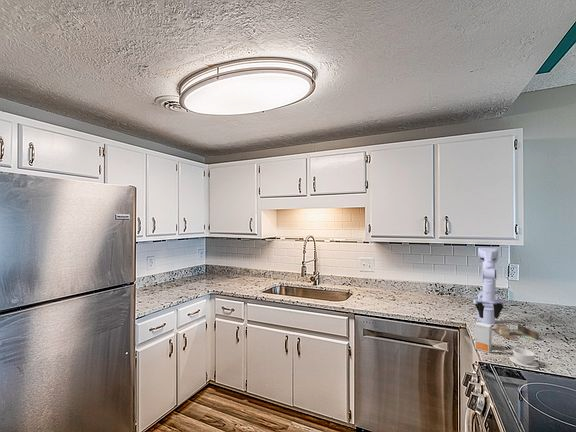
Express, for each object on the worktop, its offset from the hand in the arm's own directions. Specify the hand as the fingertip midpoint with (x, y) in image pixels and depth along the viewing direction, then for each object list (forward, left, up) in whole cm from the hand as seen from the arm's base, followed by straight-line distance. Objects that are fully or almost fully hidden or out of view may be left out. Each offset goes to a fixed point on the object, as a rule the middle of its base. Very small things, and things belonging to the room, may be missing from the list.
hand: (488, 317), depth 161 cm
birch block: (0, +7, -8) cm, 11 cm away
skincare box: (+18, -12, -10) cm, 24 cm away
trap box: (0, +12, -9) cm, 15 cm away
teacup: (+29, -2, -10) cm, 31 cm away
